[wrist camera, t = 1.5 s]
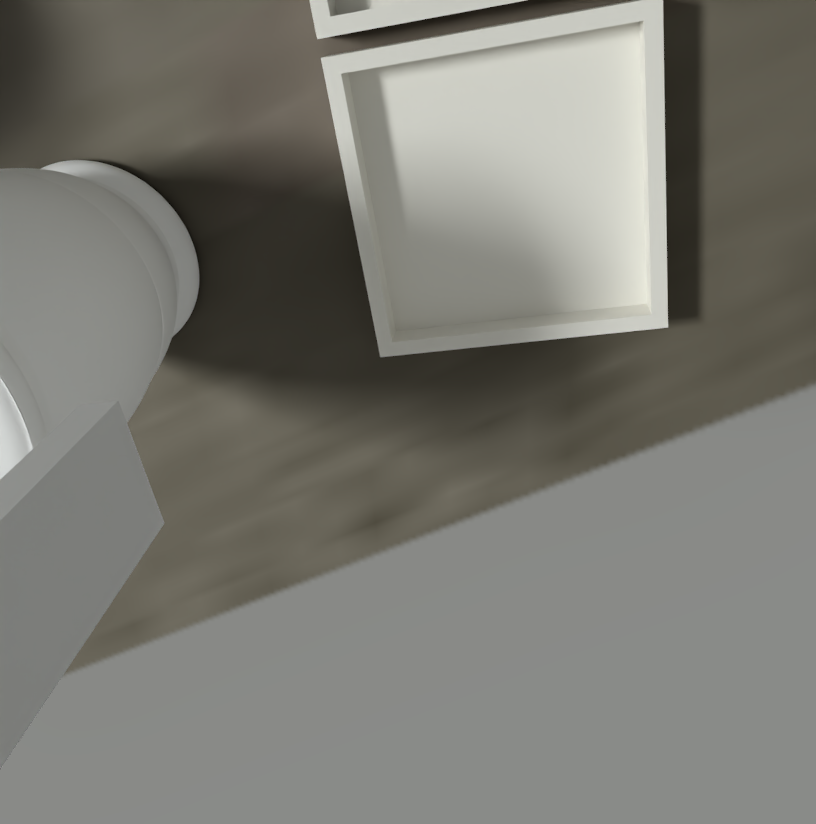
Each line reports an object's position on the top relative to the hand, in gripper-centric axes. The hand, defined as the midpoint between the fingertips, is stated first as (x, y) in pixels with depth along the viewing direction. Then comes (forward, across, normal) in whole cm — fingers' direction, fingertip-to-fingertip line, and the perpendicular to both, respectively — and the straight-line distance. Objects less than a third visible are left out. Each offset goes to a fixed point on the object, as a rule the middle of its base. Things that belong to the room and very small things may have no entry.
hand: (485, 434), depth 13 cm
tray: (+19, 0, 0) cm, 19 cm away
